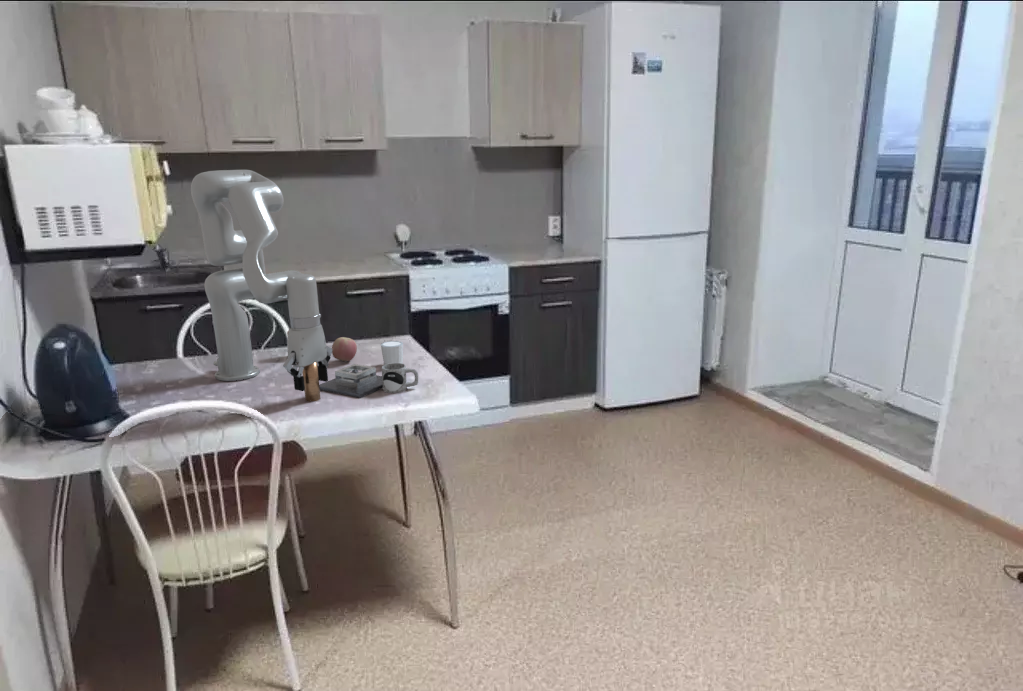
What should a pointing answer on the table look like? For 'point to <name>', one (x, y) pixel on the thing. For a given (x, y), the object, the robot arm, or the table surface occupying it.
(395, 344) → the shot glass
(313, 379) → the tube
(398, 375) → the mug
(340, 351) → the apple
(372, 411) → the table surface
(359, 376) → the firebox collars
